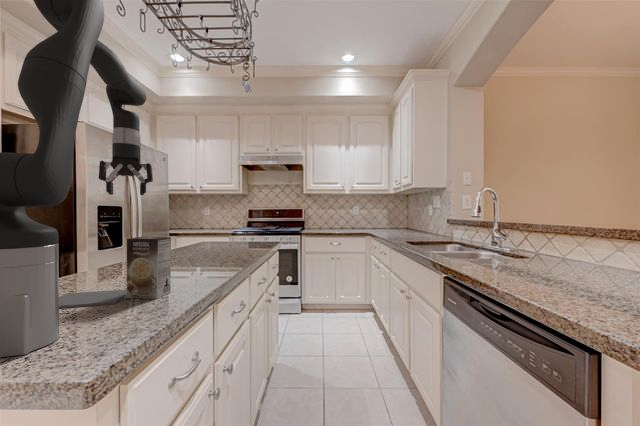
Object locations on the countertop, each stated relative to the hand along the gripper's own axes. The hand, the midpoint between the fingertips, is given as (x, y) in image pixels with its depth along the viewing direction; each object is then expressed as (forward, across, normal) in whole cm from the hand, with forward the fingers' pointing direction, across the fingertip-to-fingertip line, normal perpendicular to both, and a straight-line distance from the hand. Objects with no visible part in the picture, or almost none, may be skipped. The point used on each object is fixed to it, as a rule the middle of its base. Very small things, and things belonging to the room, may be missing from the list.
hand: (126, 194), depth 91 cm
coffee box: (+29, +9, -17) cm, 35 cm away
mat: (+29, -5, -16) cm, 33 cm away
